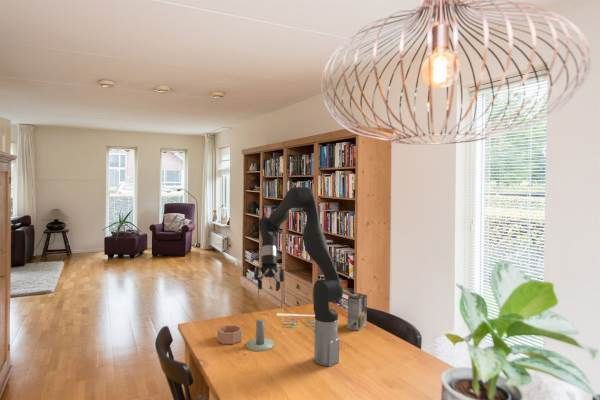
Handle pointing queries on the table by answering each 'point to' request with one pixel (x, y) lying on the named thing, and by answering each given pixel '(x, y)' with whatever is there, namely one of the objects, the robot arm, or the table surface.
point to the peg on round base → (260, 339)
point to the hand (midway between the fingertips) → (269, 289)
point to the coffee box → (357, 311)
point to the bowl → (229, 334)
